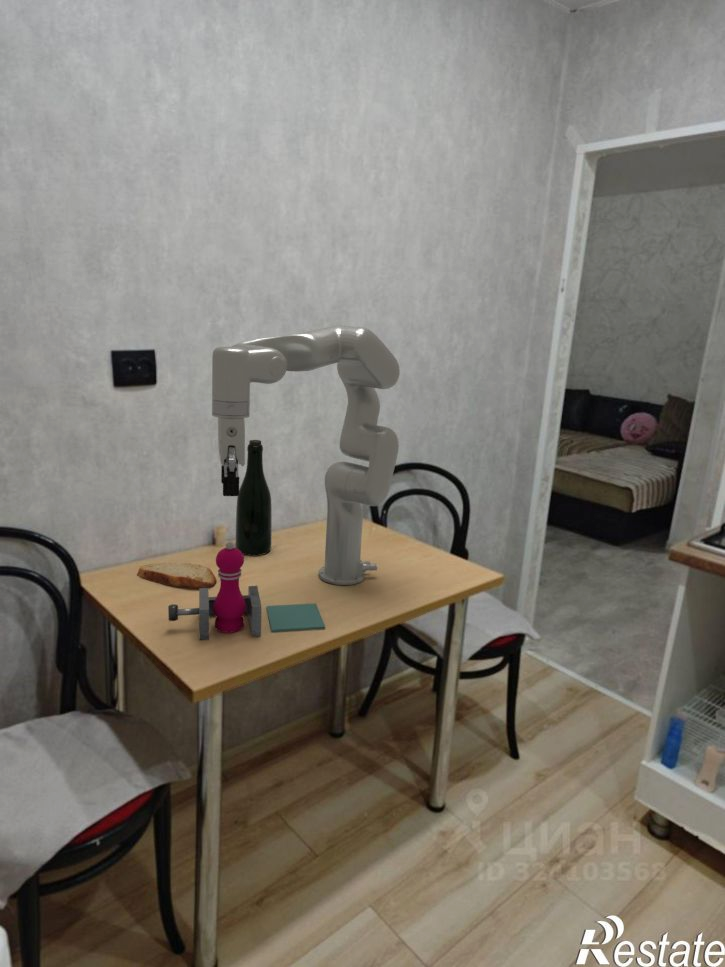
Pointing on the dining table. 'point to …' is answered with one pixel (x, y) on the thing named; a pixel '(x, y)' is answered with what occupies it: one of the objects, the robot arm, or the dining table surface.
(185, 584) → the bread slice
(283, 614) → the mat
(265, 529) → the dark green wine bottle
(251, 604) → the grey c-clamp
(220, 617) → the pepper mill
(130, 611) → the dining table surface
